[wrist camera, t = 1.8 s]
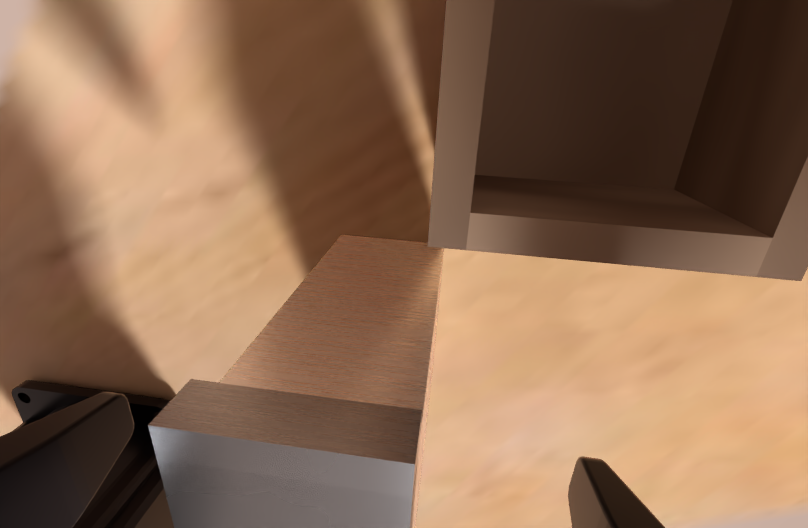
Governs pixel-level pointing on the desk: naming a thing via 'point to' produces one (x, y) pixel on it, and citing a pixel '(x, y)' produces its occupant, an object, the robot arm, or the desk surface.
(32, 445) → the robot arm
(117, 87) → the desk surface
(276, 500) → the grey-ended wooden post
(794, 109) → the open wooden box
